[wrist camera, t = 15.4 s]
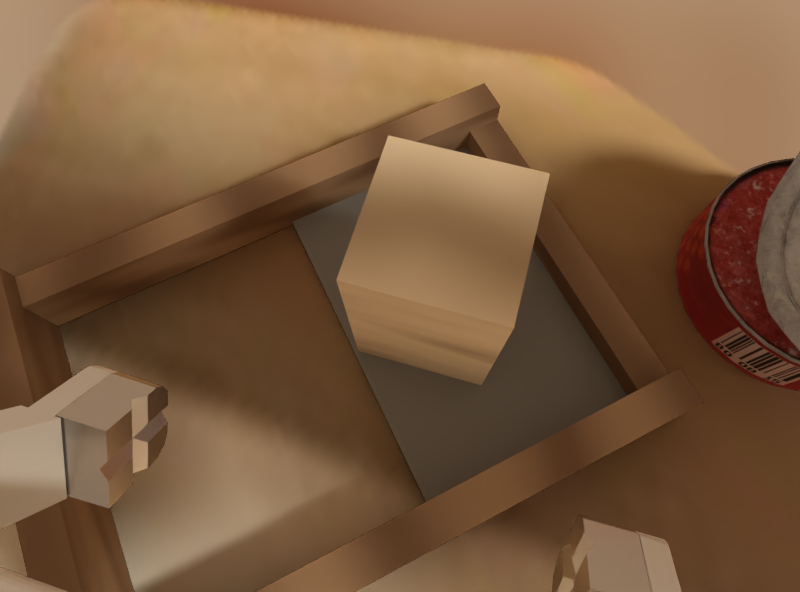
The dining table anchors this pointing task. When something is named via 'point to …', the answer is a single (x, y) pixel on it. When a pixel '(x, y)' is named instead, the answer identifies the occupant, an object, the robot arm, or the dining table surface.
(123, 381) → the robot arm
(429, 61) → the dining table surface
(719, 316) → the canned food
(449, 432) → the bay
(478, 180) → the tan wooden block
